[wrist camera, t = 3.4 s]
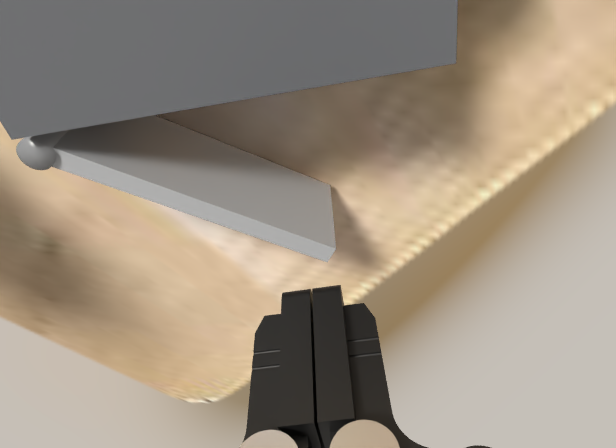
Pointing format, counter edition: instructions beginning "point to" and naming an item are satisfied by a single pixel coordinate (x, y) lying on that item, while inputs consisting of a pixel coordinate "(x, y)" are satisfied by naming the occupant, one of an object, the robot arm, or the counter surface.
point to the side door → (195, 179)
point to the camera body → (199, 53)
